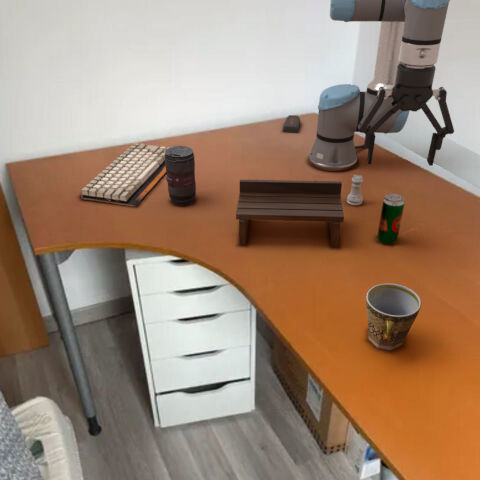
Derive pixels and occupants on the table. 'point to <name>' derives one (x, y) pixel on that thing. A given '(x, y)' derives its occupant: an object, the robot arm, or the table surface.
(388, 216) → the soda can
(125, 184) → the mechanical keyboard
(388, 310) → the ceramic cup
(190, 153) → the camera lens
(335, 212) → the dark brown wooden bench
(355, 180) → the rook chess piece
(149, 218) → the table surface
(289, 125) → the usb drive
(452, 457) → the table surface
